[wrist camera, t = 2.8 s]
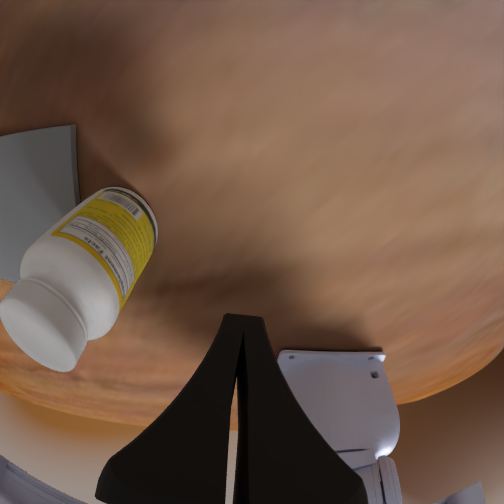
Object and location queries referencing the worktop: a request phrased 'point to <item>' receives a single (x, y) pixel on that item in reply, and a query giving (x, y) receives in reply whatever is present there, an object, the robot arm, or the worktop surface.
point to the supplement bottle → (79, 277)
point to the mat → (34, 189)
